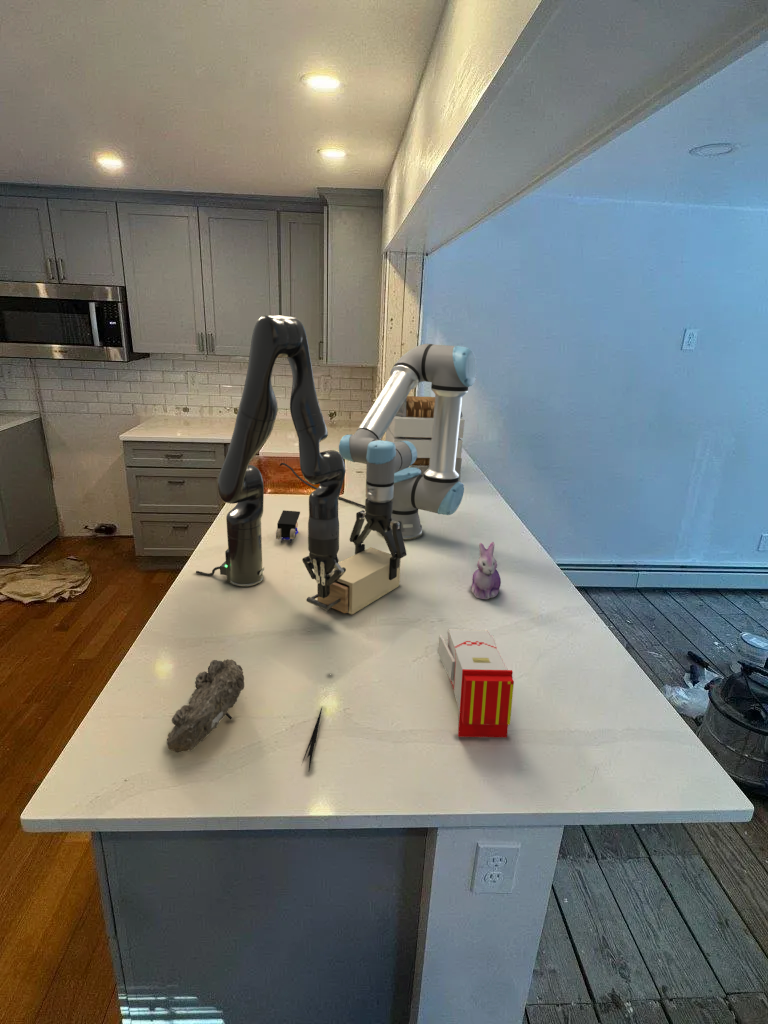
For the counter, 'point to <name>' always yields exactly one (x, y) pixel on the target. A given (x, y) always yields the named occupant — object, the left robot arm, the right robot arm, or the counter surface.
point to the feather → (313, 740)
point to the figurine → (486, 574)
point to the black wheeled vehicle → (287, 525)
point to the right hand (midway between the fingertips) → (376, 572)
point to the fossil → (206, 705)
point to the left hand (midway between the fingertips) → (323, 596)
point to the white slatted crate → (419, 429)
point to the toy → (478, 682)
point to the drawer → (333, 598)
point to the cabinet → (367, 577)
